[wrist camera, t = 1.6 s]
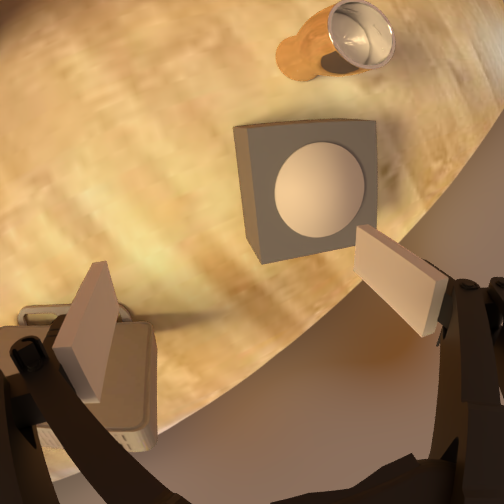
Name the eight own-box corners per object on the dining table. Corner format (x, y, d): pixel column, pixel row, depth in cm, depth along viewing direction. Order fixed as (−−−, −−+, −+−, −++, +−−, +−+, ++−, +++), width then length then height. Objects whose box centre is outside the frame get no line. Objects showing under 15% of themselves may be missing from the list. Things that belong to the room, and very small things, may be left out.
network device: (151, 298, 42) (144, 416, 24) (160, 348, 45) (163, 463, 27) (-2, 306, 36) (-59, 398, 18) (17, 351, 40) (-23, 445, 22)
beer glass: (265, 36, 31) (315, -5, 18) (318, 31, 32) (386, -2, 19) (278, 88, 34) (336, 74, 21) (330, 81, 35) (404, 70, 22)
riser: (232, 127, 35) (247, 128, 28) (341, 118, 37) (377, 120, 30) (246, 237, 41) (262, 266, 34) (345, 220, 43) (377, 242, 36)
